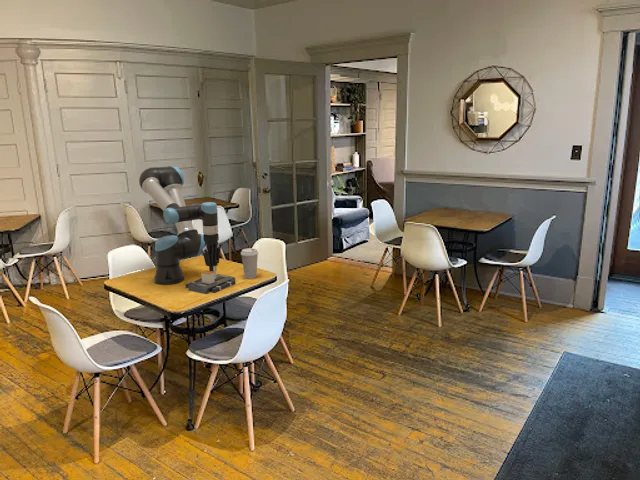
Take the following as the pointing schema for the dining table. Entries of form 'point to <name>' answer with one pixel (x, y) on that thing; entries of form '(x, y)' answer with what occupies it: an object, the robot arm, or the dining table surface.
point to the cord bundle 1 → (192, 283)
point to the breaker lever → (208, 277)
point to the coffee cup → (249, 262)
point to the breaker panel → (208, 288)
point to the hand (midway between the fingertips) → (213, 278)
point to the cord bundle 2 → (223, 286)
